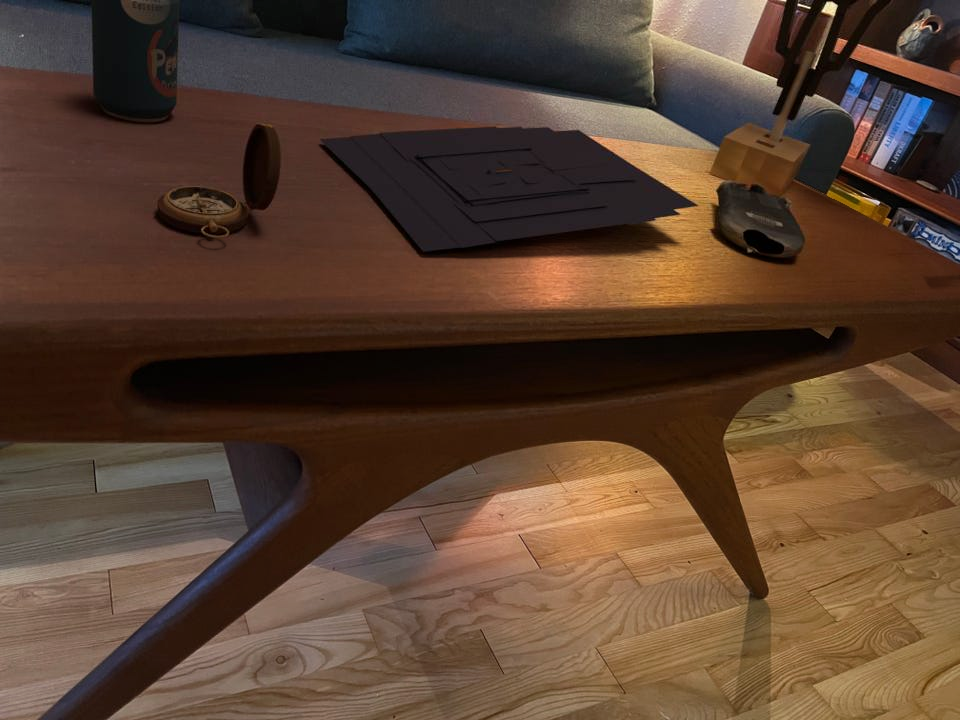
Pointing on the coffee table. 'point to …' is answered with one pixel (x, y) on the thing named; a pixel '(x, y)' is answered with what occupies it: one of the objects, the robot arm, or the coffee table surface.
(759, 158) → the pen holder
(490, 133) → the papers
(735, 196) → the electronic device
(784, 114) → the stylus
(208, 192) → the compass
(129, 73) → the soda can
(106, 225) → the coffee table surface
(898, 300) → the coffee table surface
